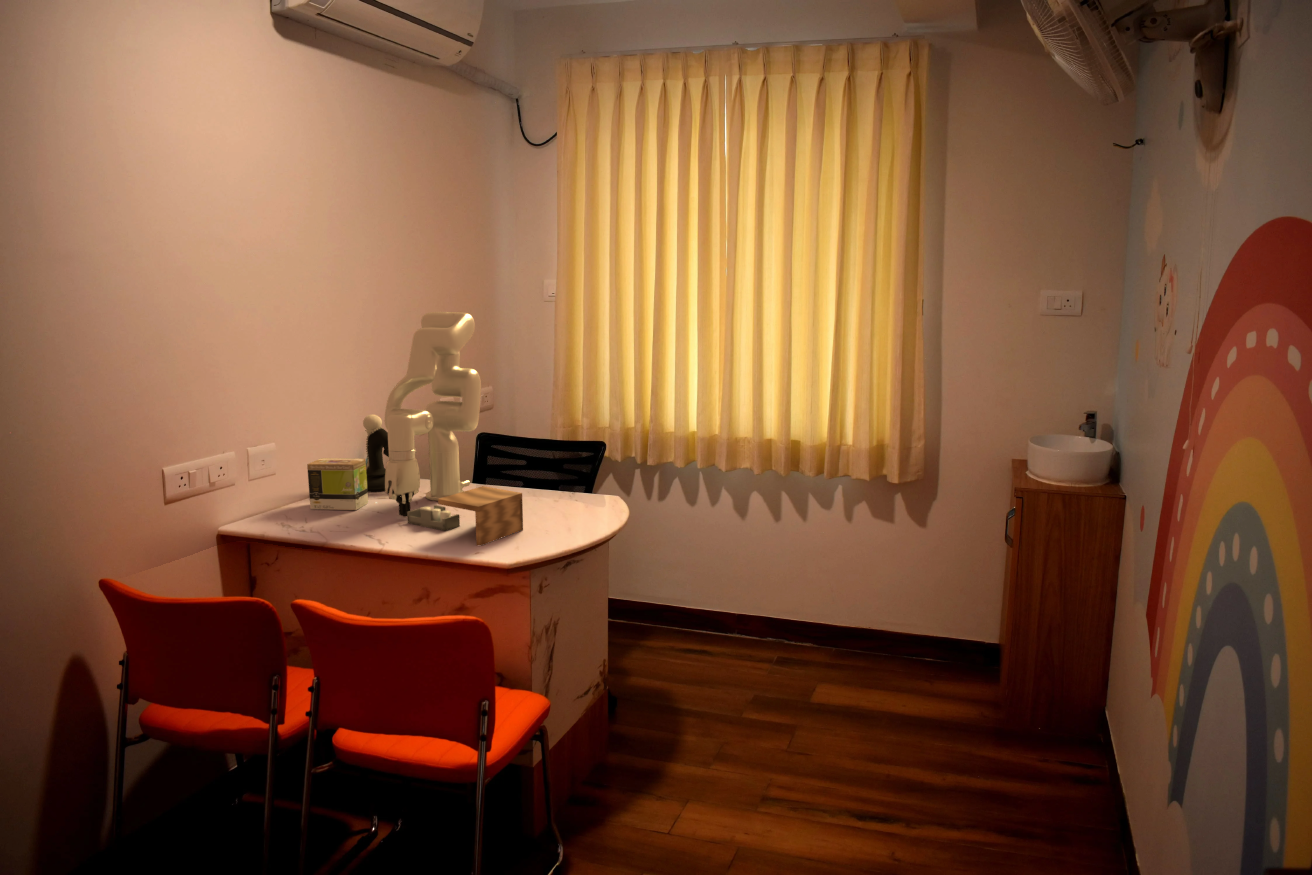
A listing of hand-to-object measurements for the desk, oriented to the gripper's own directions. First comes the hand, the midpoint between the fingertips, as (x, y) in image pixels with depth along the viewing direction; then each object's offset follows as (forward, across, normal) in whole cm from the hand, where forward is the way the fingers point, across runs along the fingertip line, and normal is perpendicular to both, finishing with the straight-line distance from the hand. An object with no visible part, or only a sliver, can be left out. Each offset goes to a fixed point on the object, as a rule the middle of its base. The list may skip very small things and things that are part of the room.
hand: (404, 515), depth 273 cm
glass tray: (+1, 0, +12) cm, 12 cm away
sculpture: (+1, -24, -34) cm, 42 cm away
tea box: (+1, +1, -28) cm, 28 cm away
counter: (+1, -1, +30) cm, 30 cm away
